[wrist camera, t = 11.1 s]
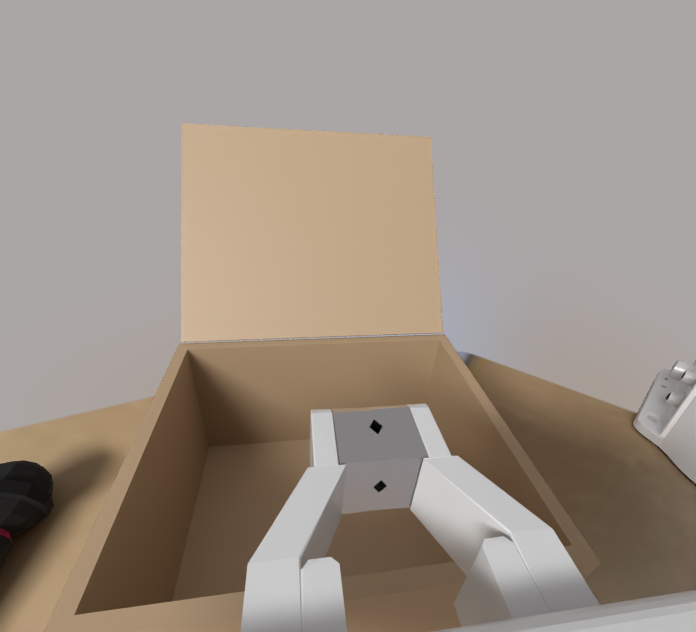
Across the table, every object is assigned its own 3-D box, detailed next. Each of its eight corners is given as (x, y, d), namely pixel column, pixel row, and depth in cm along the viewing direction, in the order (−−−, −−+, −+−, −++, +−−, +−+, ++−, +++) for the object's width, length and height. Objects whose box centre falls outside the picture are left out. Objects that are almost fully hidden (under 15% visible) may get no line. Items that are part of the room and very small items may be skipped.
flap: (181, 341, 27) (183, 341, 28) (443, 332, 30) (440, 332, 31) (181, 123, 29) (184, 127, 29) (430, 137, 32) (428, 140, 32)
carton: (203, 446, 33) (179, 343, 27) (422, 429, 36) (444, 334, 30) (129, 734, 18) (35, 648, 12) (517, 660, 21) (600, 562, 15)
